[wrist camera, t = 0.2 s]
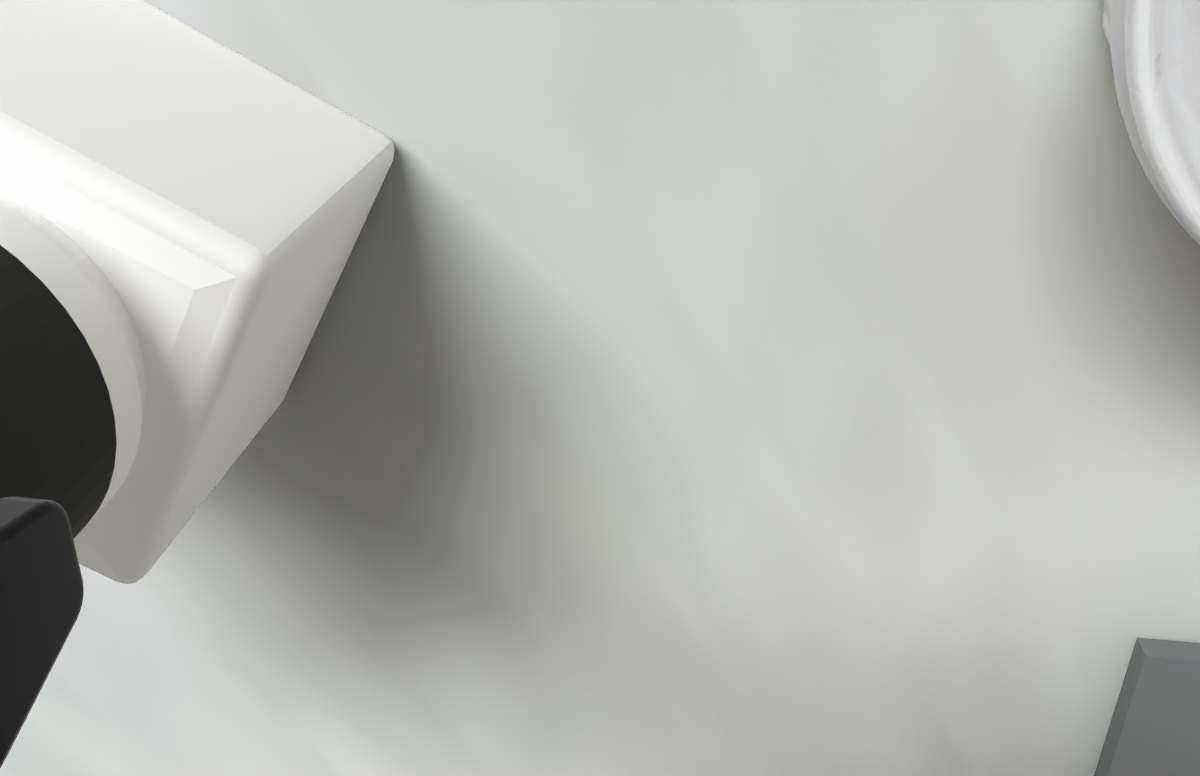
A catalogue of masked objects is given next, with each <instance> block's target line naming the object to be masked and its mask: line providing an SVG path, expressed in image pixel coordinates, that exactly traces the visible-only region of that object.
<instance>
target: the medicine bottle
mask: <svg viewBox="0 0 1200 776" xmlns="http://www.w3.org/2000/svg"><path fill="white" fill-rule="evenodd" d="M393 157H394V146H393V143H392V141H391V140H390V139H389V138H388V137H387V136H386V135H385V134H383V133H381V132H379V131H377V130H376V129H374V128H372V127H370V126H368V125H367V124H365V123H363V122H361V121H359V120H358V119H356V118H354V117H352V116H350V115H349V114H347V113H345V112H343V111H341V110H340V109H338V108H336V107H334V106H332V105H331V104H329V103H327V102H325V101H323V100H322V99H320V98H318V97H316V96H314V95H313V94H311V93H309V92H307V91H305V90H304V89H302V88H300V87H298V86H297V85H295V84H293V83H291V82H289V81H288V80H286V79H284V78H282V77H280V76H279V75H277V74H275V73H273V72H271V71H270V70H268V69H266V68H264V67H262V66H261V65H259V64H257V63H255V62H253V61H252V60H250V59H248V58H246V57H244V56H243V55H241V54H239V53H237V52H235V51H234V50H232V49H230V48H228V47H226V46H225V45H223V44H221V43H219V42H217V41H216V40H214V39H212V38H210V37H208V36H207V35H205V34H203V33H201V32H199V31H198V30H196V29H194V28H192V27H191V26H189V25H187V24H185V23H183V22H182V21H180V20H178V19H176V18H174V17H173V16H171V15H169V14H167V13H165V12H164V11H162V10H160V9H158V8H156V7H155V6H153V5H151V4H149V3H147V2H146V1H144V0H0V498H3V497H10V496H15V497H26V498H35V499H45V500H52V501H55V502H57V503H58V504H60V505H61V506H62V507H63V508H64V510H65V511H66V513H67V515H68V518H69V522H70V527H71V531H72V536H73V540H74V544H75V549H76V553H77V558H78V562H79V564H81V565H83V566H85V567H87V568H90V569H92V570H94V571H96V572H98V573H100V574H102V575H104V576H106V577H108V578H110V579H113V580H115V581H118V582H121V583H125V584H129V583H134V582H136V581H138V580H140V579H141V578H143V577H144V575H145V574H146V573H147V572H148V571H149V570H150V569H151V567H152V566H153V565H154V564H155V562H156V561H157V560H158V559H159V557H160V556H161V555H162V553H163V552H164V551H165V550H166V548H167V547H168V546H169V545H170V543H171V542H172V541H173V540H174V538H175V537H176V536H177V534H178V533H179V532H180V531H181V529H182V528H183V527H184V526H185V524H186V523H187V522H188V521H189V519H190V518H191V517H192V515H193V514H194V513H195V512H196V510H197V509H198V508H199V507H200V505H201V504H202V503H203V502H204V500H205V499H206V498H207V496H208V495H209V494H210V493H211V491H212V490H213V489H214V488H215V486H216V485H217V484H218V483H219V481H220V480H221V479H222V477H223V476H224V475H225V474H226V472H227V471H228V470H229V469H230V467H231V466H232V465H233V464H234V462H235V461H236V460H237V458H238V457H239V456H240V455H241V453H242V452H243V451H244V450H245V448H246V447H247V446H248V445H249V443H250V442H251V441H252V440H253V438H254V437H255V436H256V434H257V433H258V432H259V431H260V429H261V428H262V427H263V426H264V424H265V423H266V422H267V421H268V419H269V418H270V417H271V415H272V414H273V413H274V412H275V410H276V409H277V408H278V407H279V405H280V404H281V403H282V402H283V400H284V398H285V396H286V394H287V392H288V389H289V387H290V385H291V383H292V381H293V379H294V376H295V374H296V372H297V370H298V368H299V365H300V363H301V361H302V359H303V357H304V354H305V352H306V350H307V348H308V346H309V343H310V341H311V339H312V337H313V335H314V332H315V330H316V328H317V326H318V324H319V322H320V319H321V317H322V315H323V313H324V311H325V308H326V306H327V304H328V302H329V300H330V297H331V295H332V293H333V291H334V289H335V286H336V284H337V282H338V280H339V278H340V275H341V273H342V271H343V269H344V267H345V265H346V262H347V260H348V258H349V256H350V254H351V251H352V249H353V247H354V245H355V243H356V240H357V238H358V236H359V234H360V232H361V229H362V227H363V225H364V223H365V221H366V219H367V216H368V214H369V212H370V210H371V208H372V205H373V203H374V201H375V199H376V197H377V194H378V192H379V190H380V188H381V186H382V183H383V181H384V179H385V177H386V175H387V172H388V170H389V168H390V166H391V164H392V162H393Z"/></svg>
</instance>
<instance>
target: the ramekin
mask: <svg viewBox="0 0 1200 776" xmlns="http://www.w3.org/2000/svg"><path fill="white" fill-rule="evenodd" d="M1103 4H1104V12H1103V19H1102V25H1103V31H1104V34H1105V37H1106V39H1107V41H1108V43H1109V46H1110V52H1111V59H1112V67H1113V76H1114V83H1115V89H1116V94H1117V99H1118V104H1119V107H1120V111H1121V114H1122V117H1123V120H1124V124H1125V127H1126V130H1127V133H1128V136H1129V138H1130V141H1131V144H1132V146H1133V149H1134V152H1135V154H1136V156H1137V158H1138V160H1139V162H1140V164H1141V166H1142V168H1143V170H1144V172H1145V174H1146V176H1147V178H1148V180H1149V181H1150V183H1151V184H1152V186H1153V188H1154V189H1155V191H1156V192H1157V194H1158V196H1159V197H1160V199H1161V200H1162V201H1163V203H1164V204H1165V205H1166V207H1167V208H1168V209H1169V211H1170V212H1171V213H1172V215H1173V216H1174V217H1175V218H1176V220H1177V221H1178V222H1179V223H1180V224H1181V226H1182V227H1183V228H1184V229H1185V230H1186V231H1187V232H1188V233H1189V235H1190V236H1191V237H1192V238H1193V239H1194V240H1195V241H1196V242H1197V243H1198V244H1199V245H1200V0H1103Z"/></svg>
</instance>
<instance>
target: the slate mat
mask: <svg viewBox="0 0 1200 776" xmlns="http://www.w3.org/2000/svg"><path fill="white" fill-rule="evenodd" d="M1095 776H1200V643H1190V642H1178V641H1166V640H1154V639H1141V638H1137V641H1136V644H1135V647H1134V651H1133V654H1132V657H1131V660H1130V663H1129V667H1128V670H1127V673H1126V676H1125V680H1124V683H1123V686H1122V689H1121V692H1120V696H1119V699H1118V702H1117V705H1116V709H1115V712H1114V715H1113V718H1112V721H1111V725H1110V728H1109V731H1108V734H1107V738H1106V741H1105V744H1104V747H1103V751H1102V754H1101V757H1100V760H1099V763H1098V767H1097V770H1096V773H1095Z"/></svg>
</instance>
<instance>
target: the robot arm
mask: <svg viewBox="0 0 1200 776" xmlns="http://www.w3.org/2000/svg"><path fill="white" fill-rule="evenodd" d="M82 601H83V580H82V576H81V571H80V567H79V562H78V558H77V553H76V549H75V544H74V540H73V536H72V531H71V527H70V522H69V518H68V515H67V513H66V511H65V510H64V508H63V507H62V506H61V505H60V504H58V503H57V502H55V501H52V500H45V499H35V498H26V497H15V496H10V497H3V498H0V768H1V766H2V764H3V762H4V760H5V759H6V757H7V755H8V753H9V751H10V749H11V747H12V745H13V743H14V741H15V739H16V737H17V735H18V733H19V731H20V729H21V727H22V725H23V724H24V722H25V720H26V718H27V716H28V714H29V712H30V710H31V708H32V706H33V704H34V702H35V700H36V698H37V696H38V694H39V692H40V690H41V688H42V686H43V684H44V682H45V680H46V678H47V676H48V674H49V672H50V671H51V669H52V667H53V665H54V663H55V661H56V659H57V657H58V655H59V653H60V651H61V649H62V647H63V645H64V643H65V641H66V639H67V637H68V635H69V633H70V631H71V629H72V627H73V625H74V623H75V621H76V620H77V617H78V615H79V612H80V609H81V606H82Z"/></svg>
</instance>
